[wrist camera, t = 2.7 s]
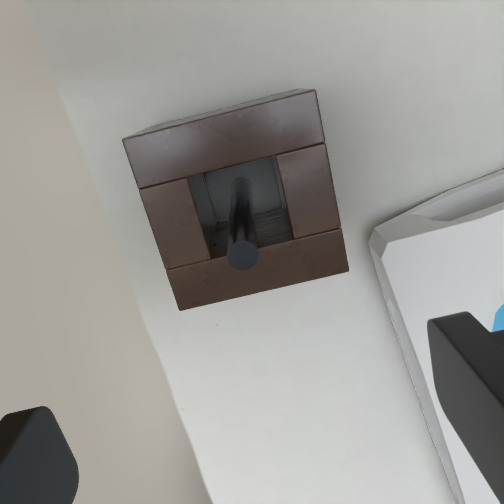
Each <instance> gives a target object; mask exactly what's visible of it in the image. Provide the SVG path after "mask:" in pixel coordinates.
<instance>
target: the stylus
mask: <svg viewBox="0 0 504 504" xmlns="http://www.w3.org/2000/svg"><path fill="white" fill-rule="evenodd" d="M258 258H259V253H258V244H257V235H256V227H255V218H254V209H253V200H252V192H251V184H250V181H249V180H248V179H247V178H245V177H238V178H236V179H235V180H234V181H233V184H232V196H231V209H230V222H229V236H228V249H227V259H228V262H229V263H230V265H231V266H232V267H234V268H235V269H238V270H248V269H250V268H252V267H253V266H254V265H255V264H256V263H257V261H258Z"/></svg>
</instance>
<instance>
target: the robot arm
mask: <svg viewBox="0 0 504 504" xmlns="http://www.w3.org/2000/svg"><path fill="white" fill-rule="evenodd" d="M427 334H428V341H429V349H430V356H431V364H432V371H433V379H434V385H435V390H436V394H437V397H438V400H439V402H440V405H441V407H442V410H443V412H444V414H445V415H446V417H447V419H448V420H449V422H450V424H451V425H452V427H453V428H454V430H455V432H456V433H457V435H458V436H459V438H460V440H461V441H462V443H463V444H464V446H465V448H466V449H467V451H468V453H469V454H470V456H471V457H472V459H473V461H474V462H475V464H476V465H477V467H478V469H479V470H480V472H481V473H482V475H483V477H484V478H485V480H486V481H487V483H488V485H489V486H490V488H491V490H492V491H493V493H494V494H495V496H496V498H497V499H498V501H499V502H500V504H504V330H499V331H495V332H489V331H488V330H487V329H486V328H485V327H484V326H483V325H482V324H481V323H480V322H479V321H478V320H477V319H476V318H475V317H474V316H473V315H472V314H471V313H470V312H468V311H464V312H460V313H455V314H451V315H446V316H442V317H437V318H433V319H429V320H428V322H427ZM78 482H79V473H78V466H77V463H76V460H75V458H74V456H73V454H72V451H71V449H70V447H69V445H68V443H67V441H66V439H65V437H64V435H63V433H62V431H61V429H60V427H59V425H58V423H57V421H56V419H55V417H54V415H53V413H52V411H51V410H50V409H49V408H47V407H45V406H40V407H36V408H32V409H28V410H23V411H18V412H14V413H9V414H7V415H5V416H4V417H3V418H2V419H1V421H0V504H72V502H73V500H74V498H75V495H76V492H77V488H78Z"/></svg>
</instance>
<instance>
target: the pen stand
mask: <svg viewBox="0 0 504 504" xmlns="http://www.w3.org/2000/svg"><path fill="white" fill-rule="evenodd" d="M122 142H123V145H124V148H125V151H126V154H127V157H128V160H129V163H130V166H131V169H132V172H133V174H134V177H135V180H136V183H137V186H138V188H139V193H140V196H141V199H142V201H143V204H144V207H145V210H146V213H147V216H148V219H149V222H150V225H151V228H152V231H153V234H154V237H155V240H156V243H157V246H158V249H159V252H160V255H161V258H162V261H163V264H164V267H165V269H166V273H167V276H168V279H169V282H170V285H171V287H172V290H173V293H174V296H175V299H176V302H177V305H178V308H179V310H180V311H182V310H186V309H191V308H195V307H199V306H203V305H208V304H212V303H216V302H220V301H225V300H229V299H233V298H238V297H242V296H246V295H250V294H255V293H259V292H263V291H267V290H272V289H276V288H280V287H284V286H289V285H293V284H297V283H302V282H306V281H310V280H314V279H319V278H323V277H327V276H331V275H336V274H340V273H344V272H348V271H349V266H348V261H347V255H346V250H345V245H344V239H343V234H342V229H341V228H340V227H341V223H340V218H339V212H338V207H337V202H336V196H335V191H334V186H333V180H332V175H331V169H330V164H329V159H328V153H327V148H326V144H325V143H324V142H325V137H324V132H323V126H322V121H321V115H320V110H319V105H318V99H317V94H316V90H315V89H295V90H291V91H287V92H283V93H279V94H275V95H271V96H268V97H264V98H260V99H256V100H252V101H248V102H244V103H241V104H237V105H233V106H229V107H225V108H221V109H217V110H214V111H210V112H206V113H202V114H198V115H194V116H190V117H187V118H183V119H179V120H175V121H171V122H167V123H164V124H160V125H156V126H152V127H149V128H146V129H144V130H142V131H139V132H137V133H135V134H133V135H130V136H128V137H126V138H124V139H122ZM269 156H271V159H272V163H273V168H274V172H275V176H276V181H277V185H278V189H279V194H280V198H281V203H282V207H283V208H279V209H275V210H271V211H266V212H262V213H258V214H254V218H255V227H256V235H257V244H258V253H259V258H258V261H257V263H256V264H255V265H254V266H253V267H252V268H250V269H248V270H238V269H235V268H234V267H232V266H231V265H230V263H229V262H228V259H227V249H228V236H229V222H230V221H226V222H222V223H217V221H216V218H215V214H214V210H213V207H212V203H211V200H210V196H209V193H208V189H207V186H206V182H205V179H204V175H203V173H206V172H210V171H214V170H218V169H222V168H226V167H230V166H234V165H238V164H241V163H245V162H249V161H253V160H257V159H261V158H265V157H269Z"/></svg>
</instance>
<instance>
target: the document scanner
mask: <svg viewBox="0 0 504 504" xmlns="http://www.w3.org/2000/svg"><path fill="white" fill-rule="evenodd" d="M368 245H369V248H370V251H371V255H372V258H373V261H374V265H375V268H376V272H377V275H378V278H379V282H380V285H381V289H382V292H383V295H384V299H385V302H386V305H387V309H388V312H389V315H390V318H391V321H392V324H393V327H394V330H395V333H396V336H397V339H398V342H399V344H400V347H401V350H402V353H403V356H404V359H405V362H406V365H407V368H408V371H409V374H410V377H411V380H412V383H413V386H414V388H415V391H416V394H417V397H418V400H419V403H420V406H421V409H422V412H423V415H424V418H425V421H426V424H427V427H428V429H429V432H430V435H431V438H432V441H433V443H434V445H435V447H436V450H437V452H438V454H439V456H440V459H441V462H442V465H443V467H444V470H445V473H446V476H447V479H448V481H449V484H450V487H451V490H452V493H453V496H454V498H455V501H456V504H500V502H499V501H498V499H497V498H496V496H495V494H494V493H493V491H492V490H491V488H490V486H489V485H488V483H487V481H486V480H485V478H484V477H483V475H482V473H481V472H480V470H479V469H478V467H477V465H476V464H475V462H474V461H473V459H472V457H471V456H470V454H469V453H468V451H467V449H466V448H465V446H464V444H463V443H462V441H461V440H460V438H459V436H458V435H457V433H456V432H455V430H454V428H453V427H452V425H451V424H450V422H449V420H448V419H447V417H446V415H445V414H444V412H443V410H442V407H441V405H440V402H439V400H438V397H437V394H436V390H435V385H434V379H433V371H432V364H431V356H430V349H429V341H428V334H427V322H428V320H429V319H433V318H437V317H442V316H446V315H451V314H455V313H460V312H464V311H468V312H470V313H471V314H472V315H473V316H474V317H475V318H476V319H477V320H478V321H479V322H480V323H481V324H482V325H483V326H484V327H485V328H486V329H487V330H488V331H489V332H495V331H499V330H504V169H502V170H499V171H497V172H494V173H492V174H489V175H486V176H484V177H481V178H479V179H476V180H474V181H471V182H469V183H466V184H463V185H461V186H458V187H456V188H453V189H451V190H448V191H446V192H444V193H442V194H440V195H438V196H436V197H434V198H432V199H430V200H428V201H426V202H424V203H422V204H420V205H418V206H416V207H414V208H412V209H410V210H408V211H406V212H404V213H402V214H400V215H398V216H396V217H394V218H392V219H390V220H388V221H386V222H384V223H382V224H381V225H379V226H377V227H375V228H374V229H373V232H372V234H371V237H370V239H369V242H368Z"/></svg>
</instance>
